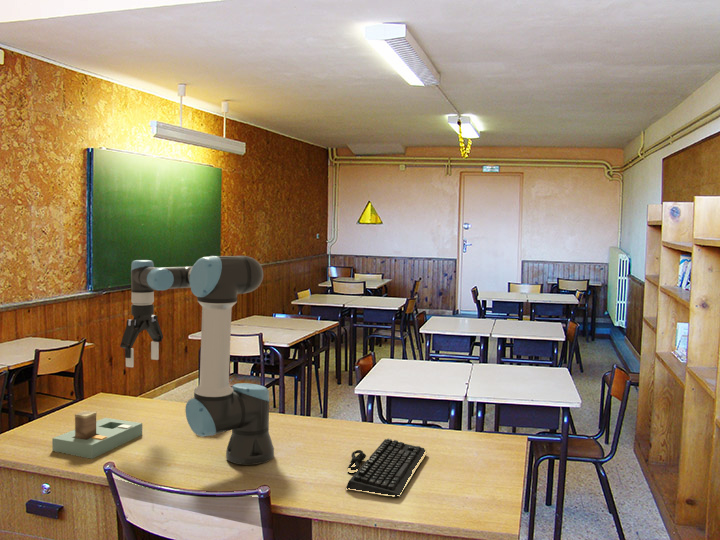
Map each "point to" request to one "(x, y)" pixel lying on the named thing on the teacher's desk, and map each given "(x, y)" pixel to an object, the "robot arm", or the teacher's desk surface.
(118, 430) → the socket board
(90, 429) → the plug
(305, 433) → the teacher's desk surface
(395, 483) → the keyboard
